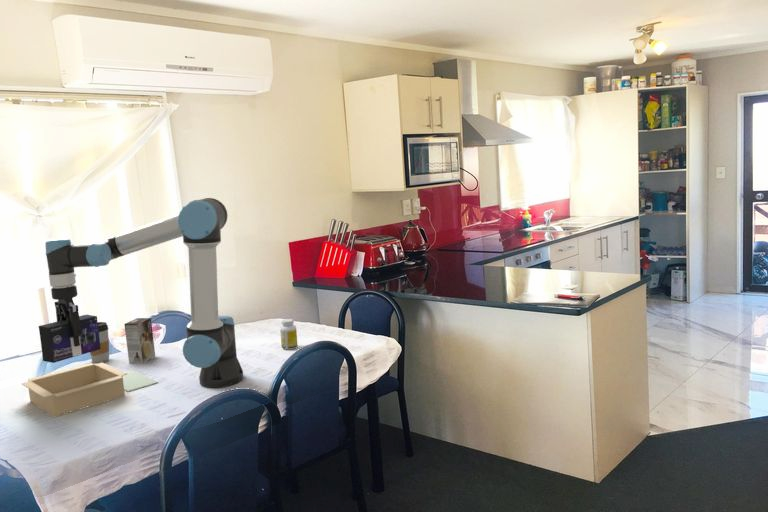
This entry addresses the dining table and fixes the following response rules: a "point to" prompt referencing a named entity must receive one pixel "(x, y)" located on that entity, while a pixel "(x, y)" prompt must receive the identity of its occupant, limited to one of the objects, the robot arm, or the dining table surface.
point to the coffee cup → (102, 345)
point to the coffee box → (139, 340)
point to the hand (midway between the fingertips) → (72, 353)
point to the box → (58, 340)
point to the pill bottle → (288, 334)
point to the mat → (136, 381)
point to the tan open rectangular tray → (76, 388)
